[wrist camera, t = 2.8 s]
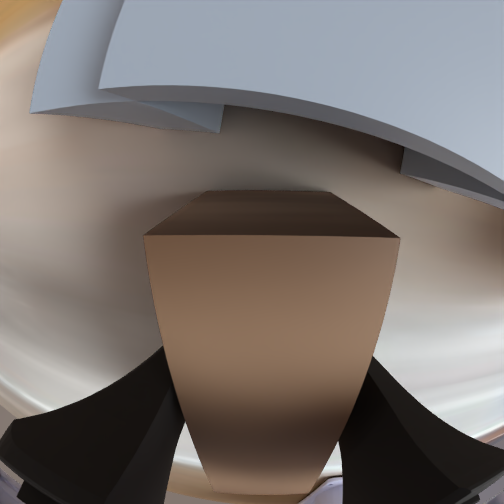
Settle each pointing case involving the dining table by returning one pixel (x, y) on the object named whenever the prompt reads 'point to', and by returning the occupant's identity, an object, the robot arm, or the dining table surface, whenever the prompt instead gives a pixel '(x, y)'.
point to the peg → (268, 327)
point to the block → (296, 72)
